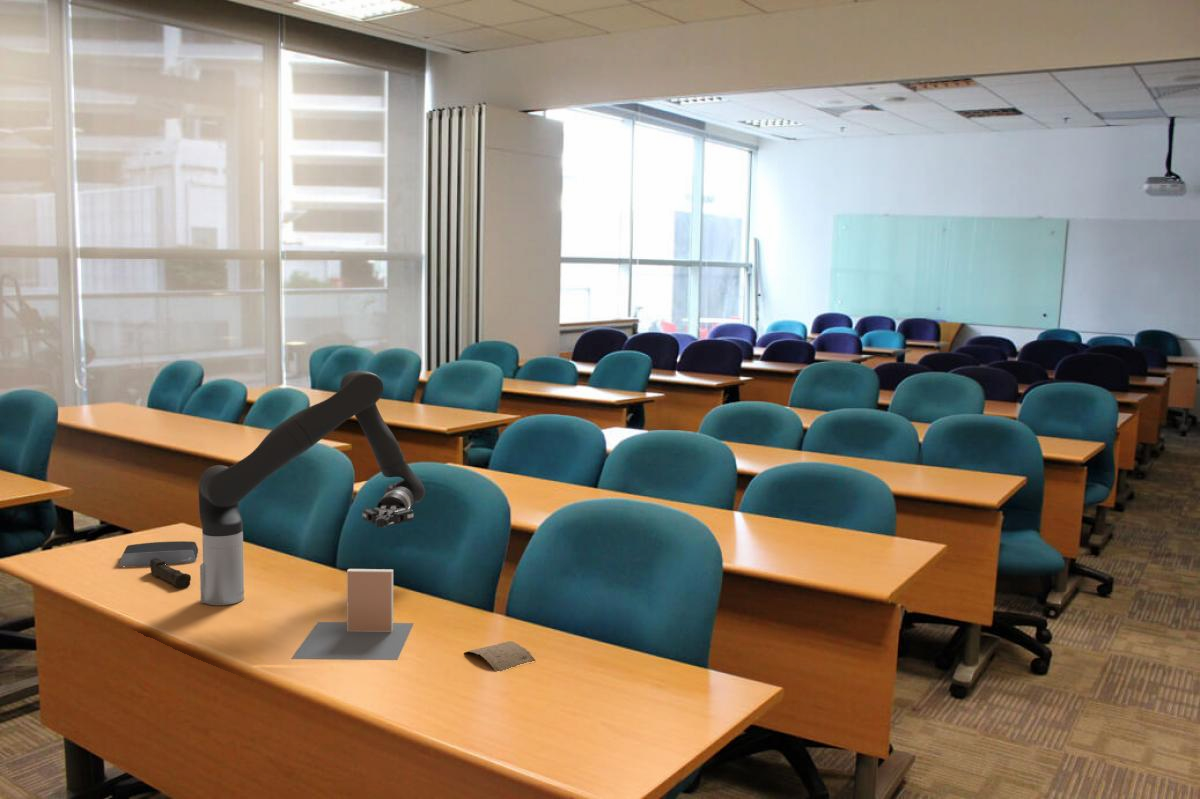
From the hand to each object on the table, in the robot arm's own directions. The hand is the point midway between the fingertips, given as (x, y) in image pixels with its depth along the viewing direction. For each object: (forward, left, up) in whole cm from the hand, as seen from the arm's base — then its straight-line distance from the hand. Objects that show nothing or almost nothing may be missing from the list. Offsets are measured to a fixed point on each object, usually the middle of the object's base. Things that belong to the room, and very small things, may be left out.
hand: (381, 523), depth 227 cm
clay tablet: (+30, -27, -23) cm, 46 cm away
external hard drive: (-70, +42, -23) cm, 85 cm away
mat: (-2, -19, -22) cm, 29 cm away
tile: (0, -13, -21) cm, 25 cm away
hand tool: (-60, +23, -22) cm, 68 cm away
